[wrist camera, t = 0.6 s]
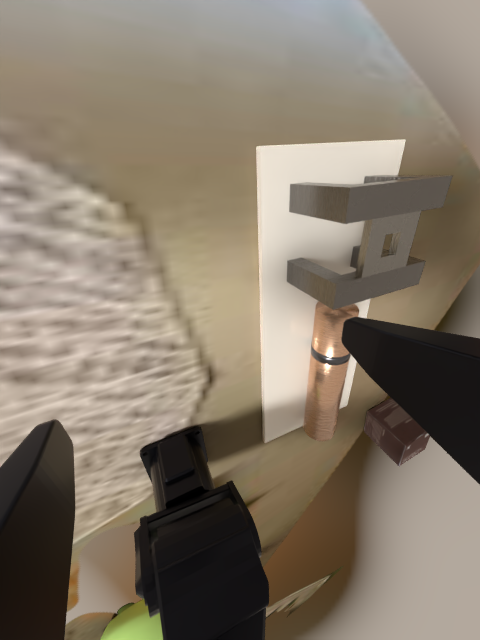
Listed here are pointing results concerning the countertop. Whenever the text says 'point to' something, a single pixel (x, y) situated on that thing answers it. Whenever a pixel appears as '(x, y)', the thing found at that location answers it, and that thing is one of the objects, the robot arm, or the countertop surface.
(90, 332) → the countertop surface
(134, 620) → the teapot
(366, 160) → the slab
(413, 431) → the box
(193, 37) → the countertop surface
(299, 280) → the grey u-shaped bracket
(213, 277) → the countertop surface
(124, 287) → the countertop surface
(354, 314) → the tube
